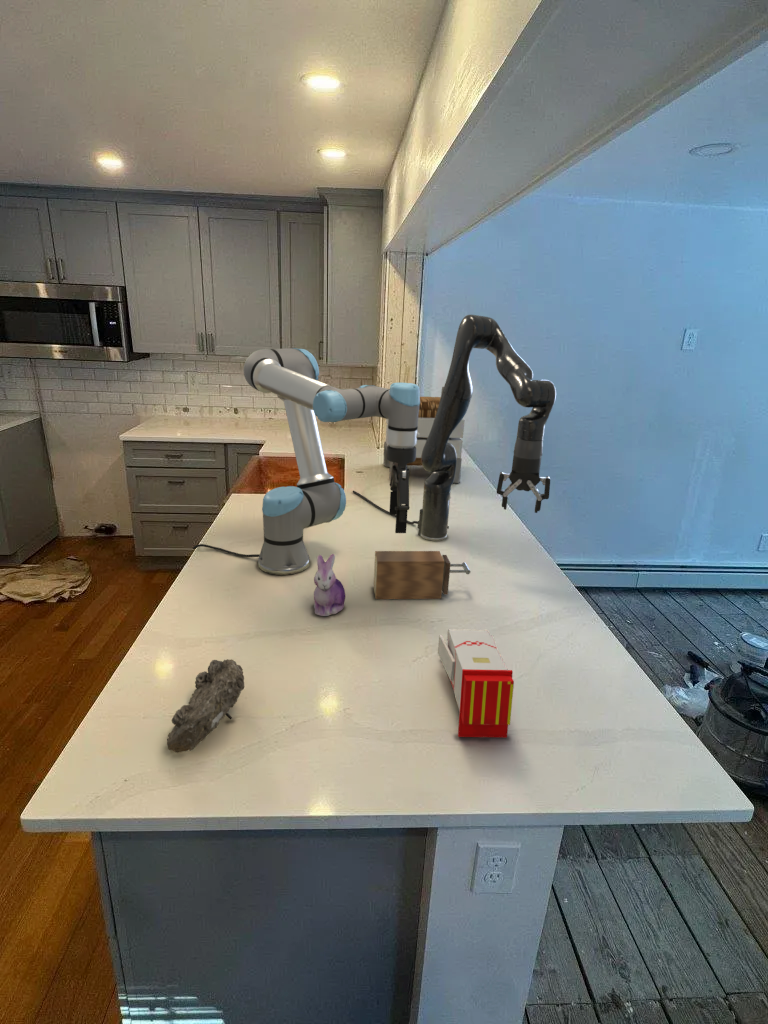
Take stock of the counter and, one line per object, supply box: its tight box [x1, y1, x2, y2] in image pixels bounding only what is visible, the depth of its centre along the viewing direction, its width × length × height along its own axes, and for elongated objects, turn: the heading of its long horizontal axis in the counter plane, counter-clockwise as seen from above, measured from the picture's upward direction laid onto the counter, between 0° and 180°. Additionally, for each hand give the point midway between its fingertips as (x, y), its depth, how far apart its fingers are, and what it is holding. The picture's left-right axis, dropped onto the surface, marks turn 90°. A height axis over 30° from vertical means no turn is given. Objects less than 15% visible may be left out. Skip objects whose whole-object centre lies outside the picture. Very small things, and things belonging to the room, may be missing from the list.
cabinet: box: [373, 550, 444, 600], centre depth 157 cm, size 18×7×11 cm, turn 96°
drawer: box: [441, 554, 471, 596], centre depth 157 cm, size 23×6×10 cm, turn 96°
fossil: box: [166, 658, 245, 754], centre depth 106 cm, size 22×10×15 cm
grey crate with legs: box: [383, 386, 465, 484], centre depth 268 cm, size 34×33×41 cm
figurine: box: [313, 553, 346, 617], centre depth 146 cm, size 9×10×15 cm
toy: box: [437, 628, 515, 738], centre depth 117 cm, size 12×13×30 cm
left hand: (397, 523), depth 152 cm, fingers open, 13 cm apart
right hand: (520, 510), depth 160 cm, fingers open, 8 cm apart
